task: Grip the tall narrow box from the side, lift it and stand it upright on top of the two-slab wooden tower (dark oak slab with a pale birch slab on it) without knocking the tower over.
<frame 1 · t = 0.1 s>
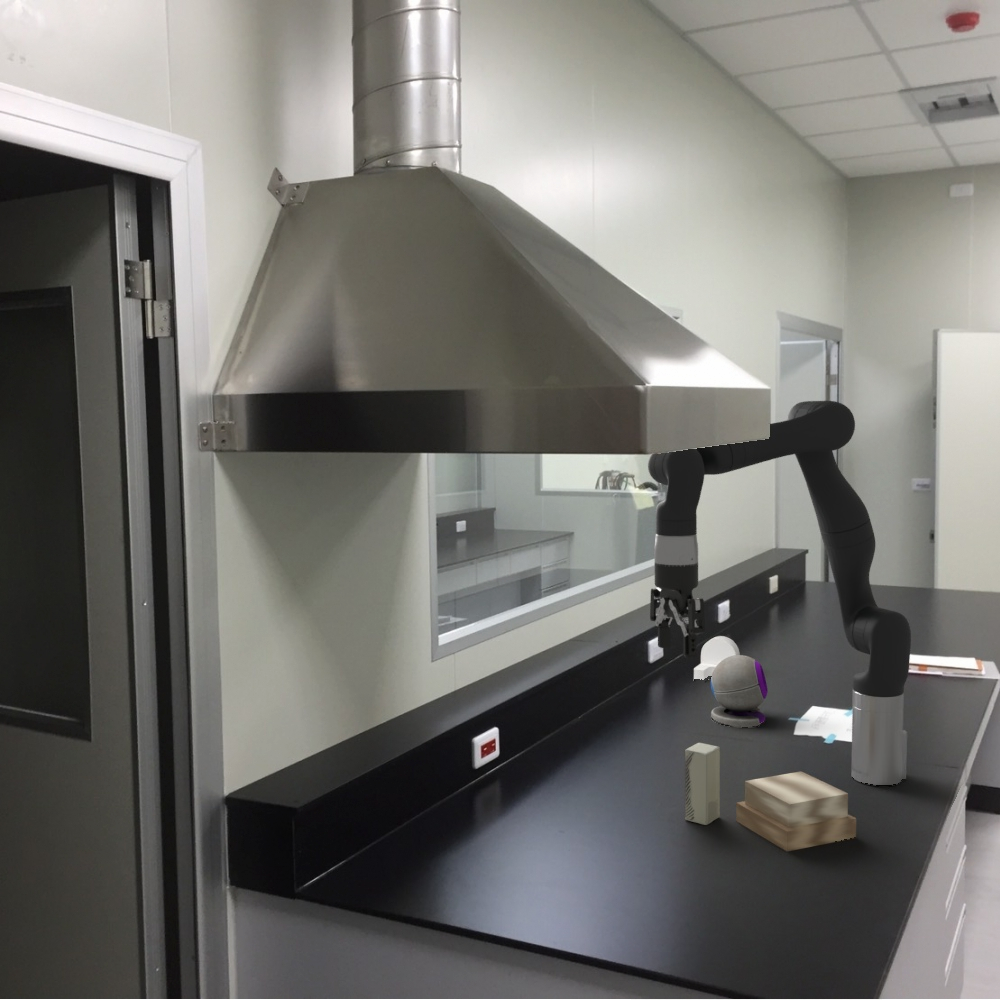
hand: (676, 652, 185), 29 cm above the lab bench, tool pointing down, fingers open, 8 cm apart
top slab: (795, 809, 180), point 3 cm above the lab bench, touching bottom slab
box: (702, 820, 185), on the lab bench
shader ball: (738, 720, 245), on the lab bench
tape dispenser: (720, 677, 285), on the lab bench
bottom slab: (794, 833, 181), on the lab bench, touching top slab
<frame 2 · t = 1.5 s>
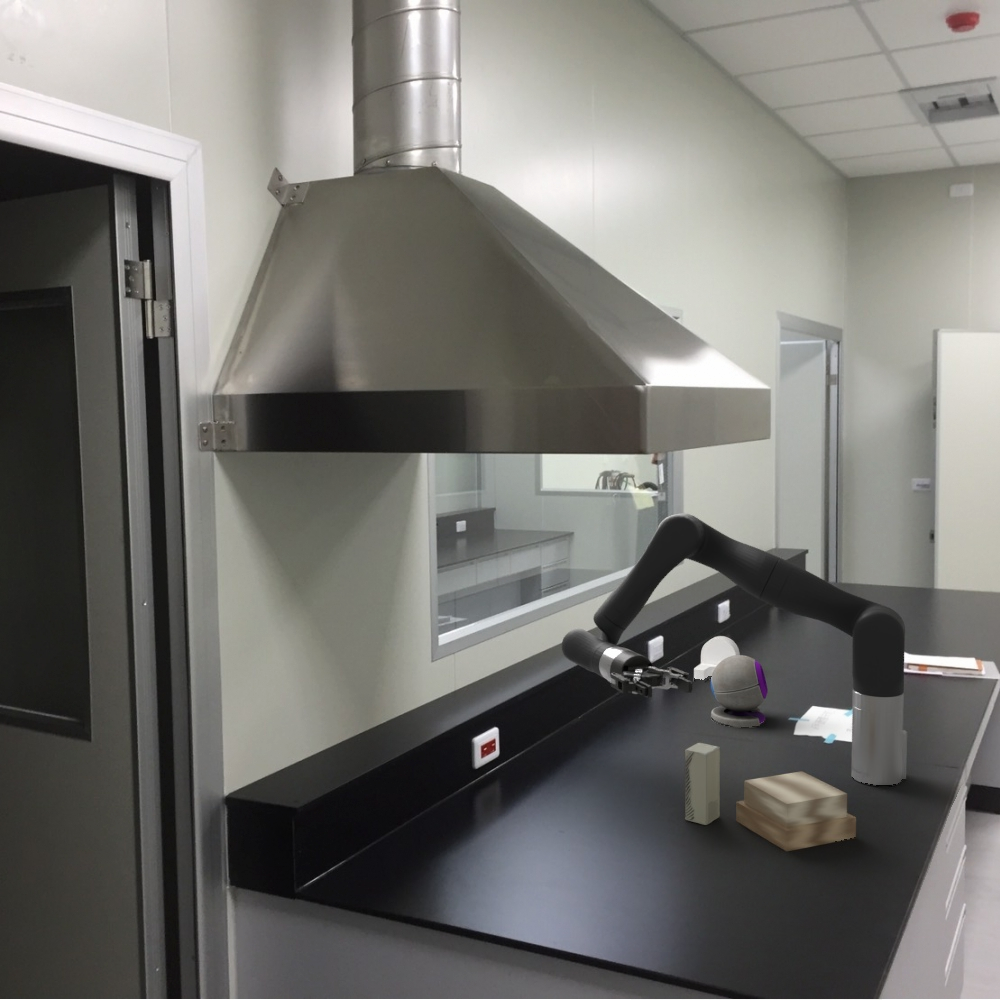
hand: (670, 690, 193), 20 cm above the lab bench, tool horizontal, fingers open, 8 cm apart
top slab: (794, 809, 180), point 3 cm above the lab bench
bottom slab: (794, 832, 181), on the lab bench
everything else where it was.
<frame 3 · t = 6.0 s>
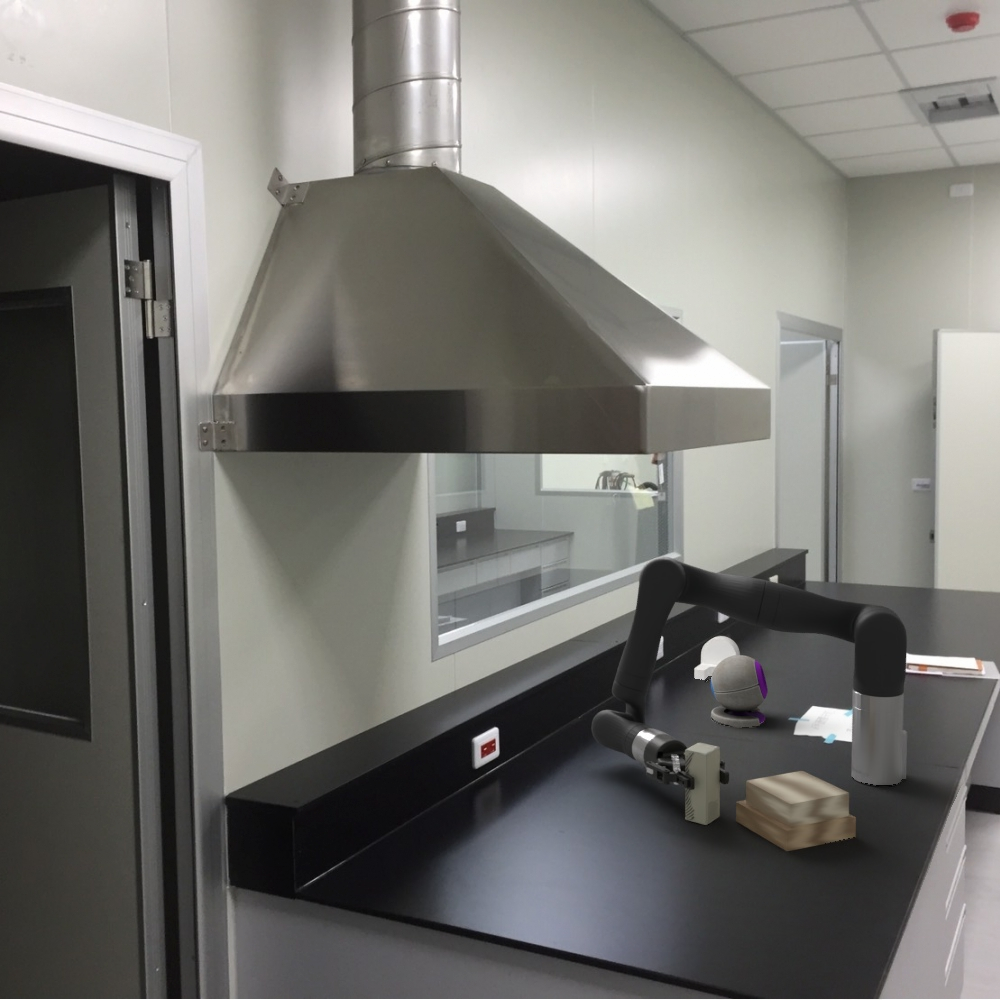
hand: (710, 781, 183), 8 cm above the lab bench, tool horizontal, fingers closed on box, 6 cm apart
top slab: (796, 809, 180), point 3 cm above the lab bench, touching bottom slab
box: (702, 820, 185), on the lab bench, touching gripper
bottom slab: (794, 832, 181), on the lab bench, touching top slab
everything else where it was.
when the fingers open (17 cm above the lab bench, at t = 11.0 s): box drops 2 cm, resting on top slab.
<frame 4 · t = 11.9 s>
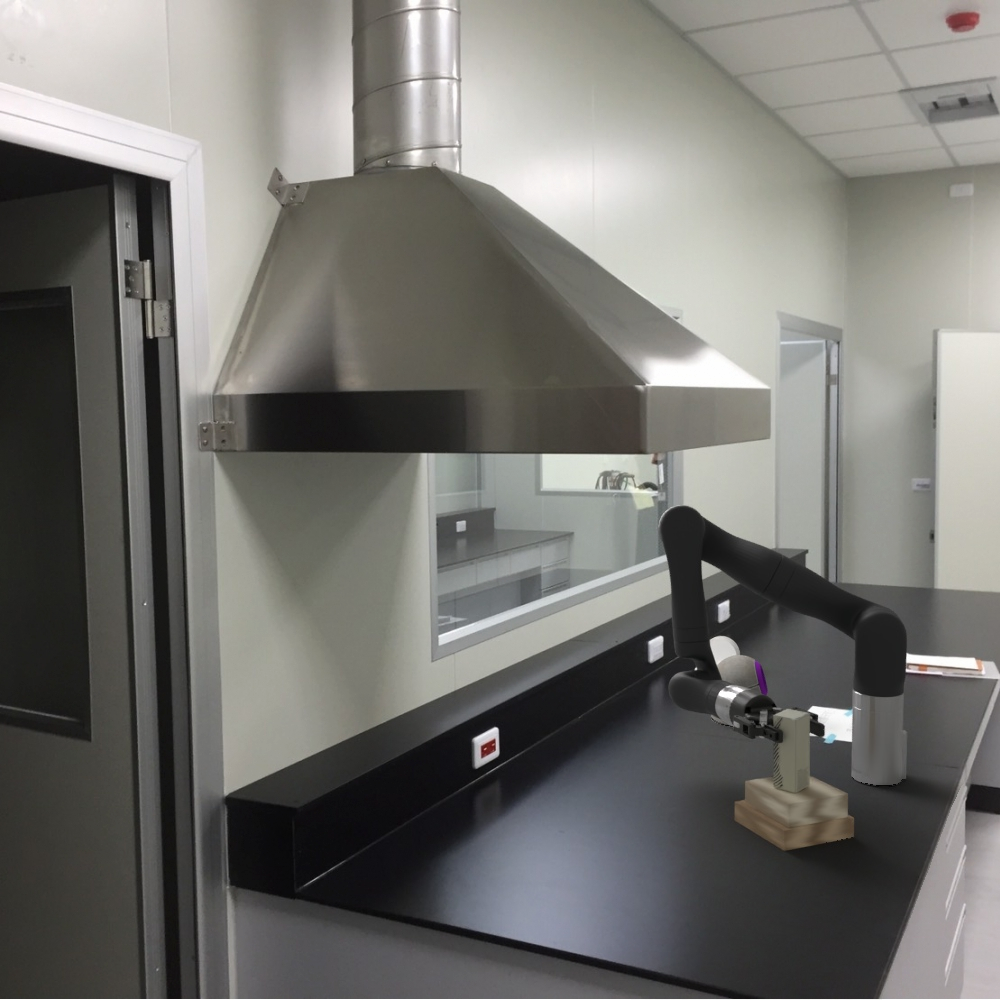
hand: (802, 734, 178), 17 cm above the lab bench, tool horizontal, fingers open, 8 cm apart
top slab: (795, 810, 180), point 3 cm above the lab bench, touching bottom slab, box
box: (791, 788, 180), point 7 cm above the lab bench, touching top slab
everything else where it was.
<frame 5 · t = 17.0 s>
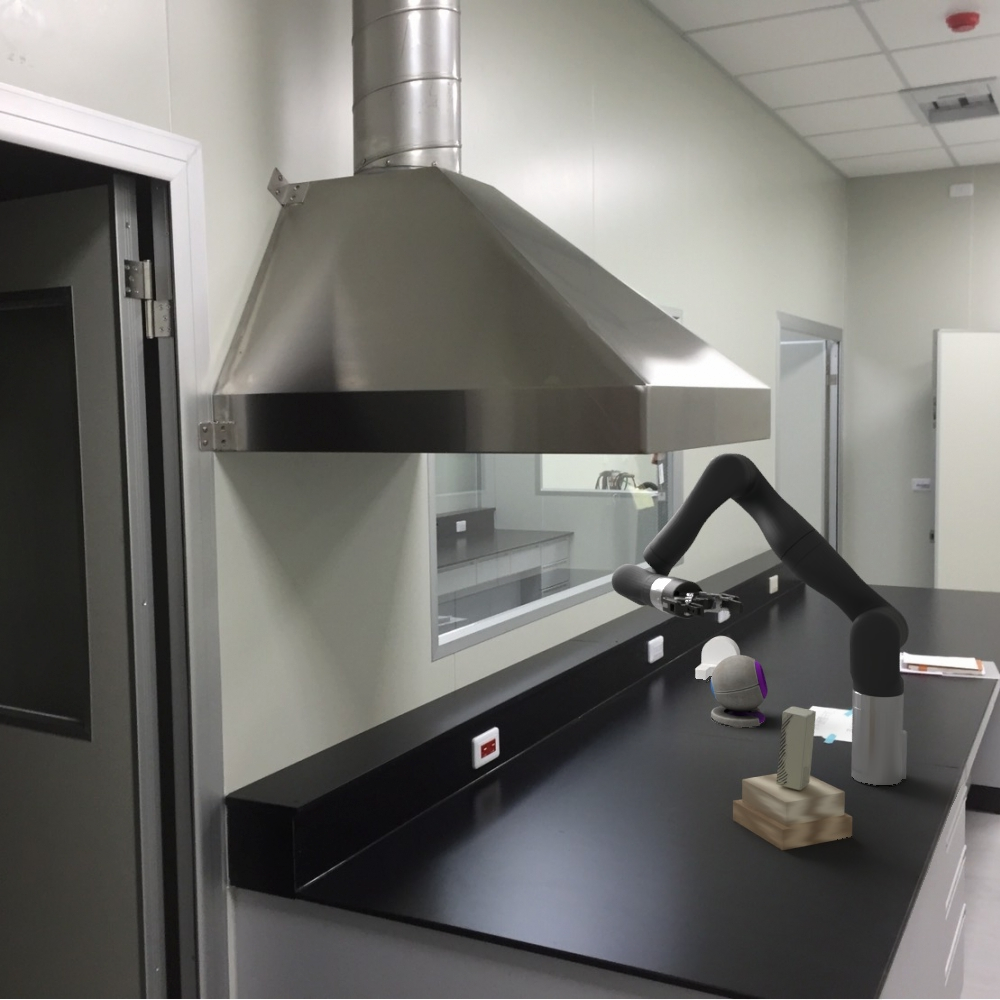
hand: (722, 610, 198), 34 cm above the lab bench, tool horizontal, fingers open, 8 cm apart
at the end: box inside the target area on the top slab (0.4 cm from its centre), point 4.1 cm above the top slab's base; box tilted 5°; top slab 0.3 cm from the bottom slab (horizontally) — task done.
